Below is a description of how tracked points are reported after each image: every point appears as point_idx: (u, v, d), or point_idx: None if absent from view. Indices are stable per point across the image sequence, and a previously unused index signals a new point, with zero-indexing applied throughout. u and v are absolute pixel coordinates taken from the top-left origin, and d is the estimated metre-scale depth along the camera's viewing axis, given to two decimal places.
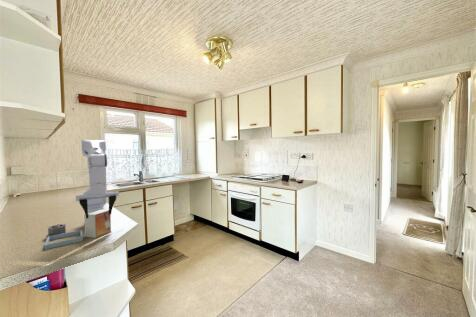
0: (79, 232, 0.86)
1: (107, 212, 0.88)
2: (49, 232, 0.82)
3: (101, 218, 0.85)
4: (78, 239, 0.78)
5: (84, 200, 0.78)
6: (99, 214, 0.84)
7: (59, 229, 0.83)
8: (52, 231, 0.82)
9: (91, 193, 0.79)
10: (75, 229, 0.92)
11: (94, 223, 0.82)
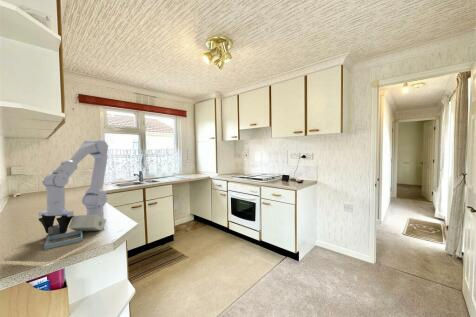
0: (79, 232, 0.86)
1: None
2: (49, 232, 0.82)
3: None
4: (78, 239, 0.78)
5: (44, 216, 0.84)
6: None
7: (59, 229, 0.83)
8: (52, 231, 0.82)
9: None
10: None
11: (81, 216, 0.87)
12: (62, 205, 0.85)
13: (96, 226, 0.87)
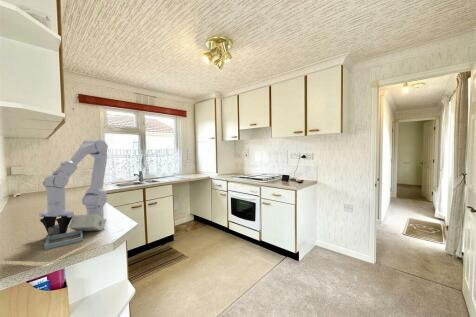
0: (79, 232, 0.86)
1: None
2: (49, 232, 0.82)
3: None
4: (78, 239, 0.78)
5: (45, 217, 0.84)
6: None
7: None
8: (52, 231, 0.82)
9: None
10: None
11: (82, 215, 0.88)
12: (62, 206, 0.85)
13: (96, 226, 0.87)
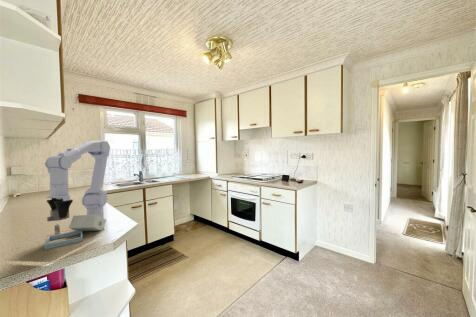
0: (79, 232, 0.86)
1: None
2: (50, 214, 0.80)
3: None
4: (78, 239, 0.78)
5: (52, 198, 0.84)
6: None
7: None
8: (52, 213, 0.79)
9: None
10: None
11: (81, 216, 0.87)
12: (63, 188, 0.81)
13: (96, 226, 0.87)
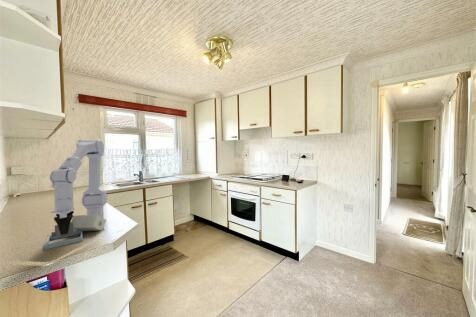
0: (79, 232, 0.86)
1: None
2: None
3: None
4: (78, 239, 0.78)
5: None
6: None
7: None
8: (55, 229, 0.77)
9: None
10: None
11: (81, 216, 0.87)
12: (64, 203, 0.77)
13: (96, 226, 0.87)
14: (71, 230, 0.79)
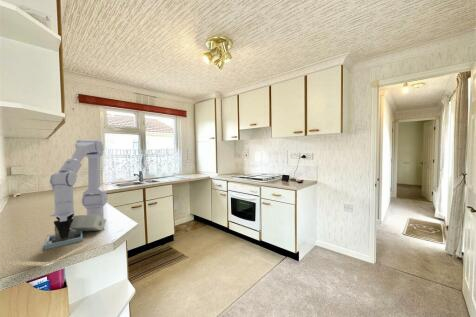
0: (79, 232, 0.86)
1: None
2: (56, 237, 0.78)
3: None
4: (78, 239, 0.78)
5: None
6: None
7: None
8: None
9: None
10: None
11: (81, 216, 0.87)
12: (64, 207, 0.77)
13: (96, 226, 0.87)
14: (71, 237, 0.79)
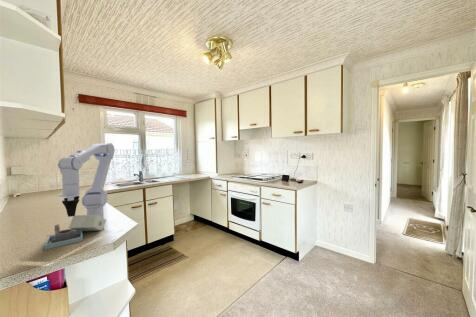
0: (79, 232, 0.86)
1: None
2: (56, 237, 0.78)
3: None
4: (78, 239, 0.78)
5: None
6: None
7: (60, 236, 0.77)
8: None
9: None
10: None
11: (81, 216, 0.87)
12: (71, 188, 0.85)
13: (96, 226, 0.87)
14: (71, 237, 0.79)
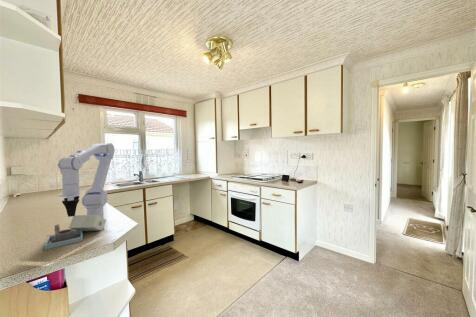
0: (79, 232, 0.86)
1: None
2: (56, 237, 0.78)
3: None
4: (78, 239, 0.78)
5: None
6: None
7: (60, 236, 0.77)
8: None
9: None
10: None
11: (81, 216, 0.87)
12: (71, 188, 0.85)
13: (96, 226, 0.87)
14: (71, 237, 0.79)
